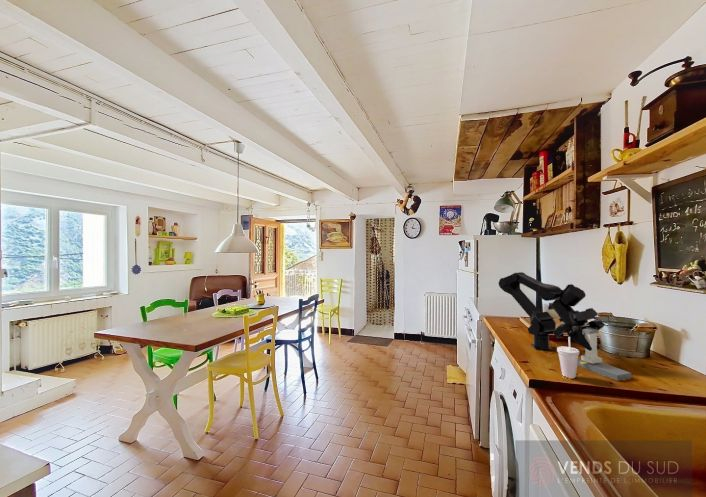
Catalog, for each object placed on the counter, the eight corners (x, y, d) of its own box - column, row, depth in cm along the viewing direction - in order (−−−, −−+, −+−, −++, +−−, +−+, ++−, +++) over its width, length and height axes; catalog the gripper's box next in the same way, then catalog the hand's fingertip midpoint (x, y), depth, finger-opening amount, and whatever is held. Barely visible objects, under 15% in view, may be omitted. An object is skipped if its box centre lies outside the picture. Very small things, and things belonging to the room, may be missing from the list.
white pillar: (581, 359, 113) (580, 328, 113) (591, 358, 114) (589, 327, 114) (592, 363, 109) (590, 331, 109) (601, 362, 110) (600, 330, 110)
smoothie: (584, 381, 101) (582, 340, 101) (563, 380, 102) (561, 339, 102) (574, 373, 107) (573, 334, 107) (554, 372, 108) (552, 334, 108)
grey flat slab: (574, 365, 113) (573, 359, 113) (593, 362, 115) (593, 356, 115) (613, 382, 100) (613, 375, 100) (634, 378, 102) (634, 371, 102)
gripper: (558, 303, 113) (588, 341, 102) (599, 299, 117) (631, 335, 106) (542, 319, 121) (568, 356, 110) (580, 315, 125) (609, 350, 114)
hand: (594, 349), depth 110 cm, fingers closed on white pillar, 3 cm apart
